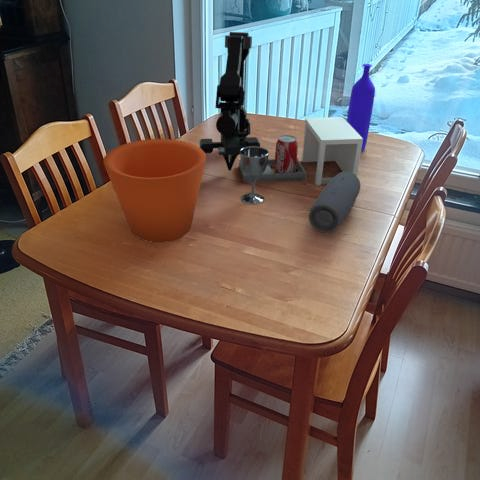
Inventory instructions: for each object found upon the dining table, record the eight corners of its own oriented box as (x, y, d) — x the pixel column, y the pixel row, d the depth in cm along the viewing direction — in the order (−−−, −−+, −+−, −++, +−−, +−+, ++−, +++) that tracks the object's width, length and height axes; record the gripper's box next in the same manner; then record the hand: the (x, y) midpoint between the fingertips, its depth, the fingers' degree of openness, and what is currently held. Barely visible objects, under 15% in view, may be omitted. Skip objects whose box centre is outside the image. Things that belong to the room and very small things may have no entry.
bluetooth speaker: (328, 196, 145) (333, 166, 139) (359, 203, 141) (364, 172, 136) (304, 232, 127) (308, 199, 122) (338, 241, 124) (343, 207, 119)
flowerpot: (187, 259, 116) (184, 186, 105) (95, 242, 121) (83, 171, 110) (219, 211, 136) (219, 145, 125) (139, 198, 141) (132, 134, 130)
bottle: (367, 146, 179) (382, 63, 163) (362, 153, 173) (377, 68, 157) (346, 142, 182) (358, 60, 166) (340, 149, 176) (352, 65, 160)
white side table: (316, 185, 151) (321, 140, 143) (301, 159, 168) (305, 118, 159) (355, 183, 153) (363, 138, 144) (336, 158, 169) (342, 117, 161)
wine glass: (269, 195, 145) (271, 148, 136) (261, 207, 138) (263, 158, 130) (244, 190, 147) (245, 144, 139) (235, 202, 140) (236, 154, 132)
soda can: (296, 177, 155) (299, 142, 149) (274, 177, 155) (276, 142, 149) (294, 168, 161) (297, 134, 155) (273, 168, 161) (275, 134, 155)
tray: (244, 182, 152) (244, 175, 150) (239, 166, 161) (239, 160, 160) (305, 180, 154) (306, 172, 153) (296, 164, 164) (297, 157, 163)
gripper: (201, 133, 139) (202, 182, 147) (264, 131, 141) (262, 179, 150) (198, 120, 148) (200, 167, 157) (258, 119, 150) (256, 165, 159)
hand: (229, 170), depth 155 cm, fingers closed
